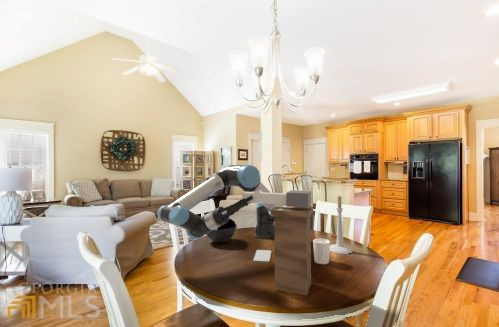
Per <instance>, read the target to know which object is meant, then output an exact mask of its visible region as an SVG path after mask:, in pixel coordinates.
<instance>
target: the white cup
mask: <svg viewBox="0 0 499 327" xmlns="http://www.w3.org/2000/svg"><path fill="white" fill-rule="evenodd" d="M312 243H313V244H312V246H313V257H314V258H313V259H314V263H316V264H320V265H327V264H329V263H330V253H331V252H330V245H331V241H330V240H329V239H327V238H326V239H325V238H315V239H313V240H312Z"/></svg>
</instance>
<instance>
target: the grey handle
mask: <svg viewBox="0 0 499 327" xmlns="http://www.w3.org/2000/svg"><path fill="white" fill-rule="evenodd" d="M252 193H254V192H244V191H243V192H242V195H241V196H242V198H241V200H242V199H243V198H245V197H247V196H249V195H251V194H252ZM260 194H261V195H262V196H261V197H259V198H257V199H256V200H254V201H252V202H250V204H253V203H254V204H257V203H266V204H283V205H286V206H294V207H311V205H312V191H311V190H295V189H293V190H292V189H291V190H289V191H286V192H271V193H265V192H260Z"/></svg>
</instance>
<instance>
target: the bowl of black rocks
mask: <svg viewBox="0 0 499 327" xmlns="http://www.w3.org/2000/svg"><path fill="white" fill-rule="evenodd" d="M237 227H238V225H237V224H236V222H235V221H234V220H233V219H232V218H229V221H228V222H227V223H225V224H224V225H221V226H220V227H218V228H217V230H215V229H214V230H213V231H211V232H209V233H207V234H206V235H205V236H207V238H208V239H209V240H211V241H213V242H214V243H225V242H228V241H230V239H232V238H233V237H234V235H235V233H236V231H237Z"/></svg>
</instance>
